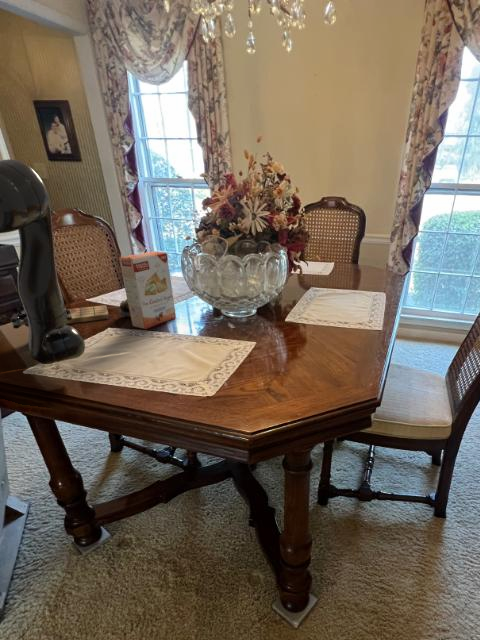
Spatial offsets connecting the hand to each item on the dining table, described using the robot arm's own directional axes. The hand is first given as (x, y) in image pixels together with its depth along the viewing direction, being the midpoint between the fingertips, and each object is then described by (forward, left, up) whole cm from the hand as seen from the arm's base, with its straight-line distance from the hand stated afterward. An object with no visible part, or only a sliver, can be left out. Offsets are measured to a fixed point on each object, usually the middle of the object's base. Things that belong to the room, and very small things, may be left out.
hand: (37, 310), depth 107 cm
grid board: (+10, +16, -8) cm, 20 cm away
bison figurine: (+27, +7, -8) cm, 29 cm away
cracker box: (+31, -1, -8) cm, 32 cm away
